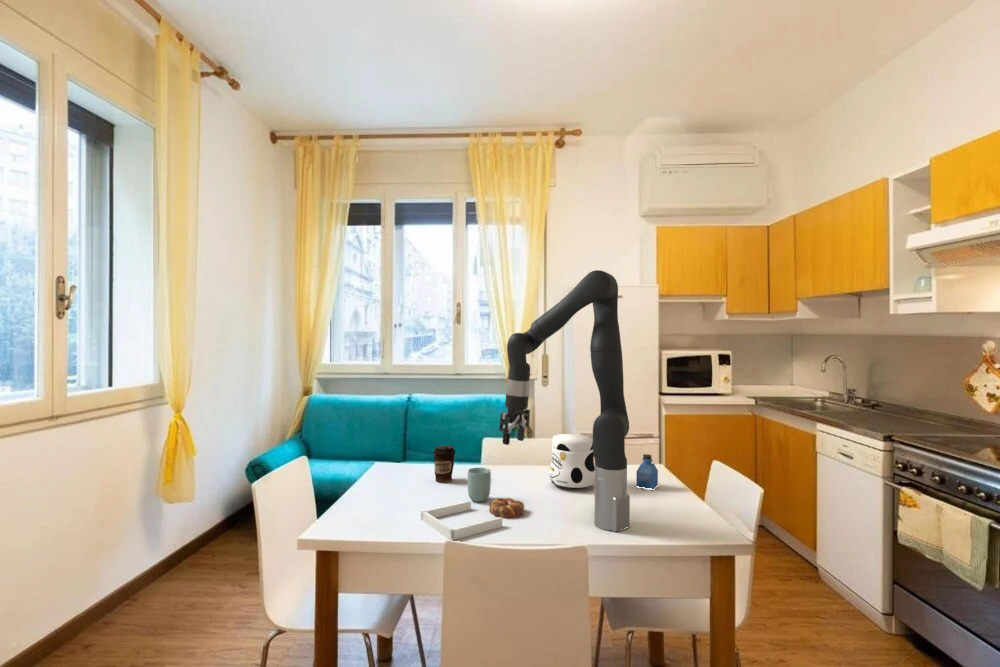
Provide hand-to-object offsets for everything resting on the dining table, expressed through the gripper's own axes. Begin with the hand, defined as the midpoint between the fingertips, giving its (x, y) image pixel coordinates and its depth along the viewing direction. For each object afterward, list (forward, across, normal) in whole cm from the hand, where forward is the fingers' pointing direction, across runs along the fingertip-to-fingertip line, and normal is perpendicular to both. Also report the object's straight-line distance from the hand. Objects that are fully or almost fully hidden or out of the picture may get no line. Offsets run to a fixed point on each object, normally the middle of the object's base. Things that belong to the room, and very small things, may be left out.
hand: (513, 442), depth 154 cm
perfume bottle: (+18, +47, -31) cm, 59 cm away
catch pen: (+21, -21, +2) cm, 30 cm away
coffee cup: (+24, +7, +34) cm, 42 cm away
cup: (+22, -3, +10) cm, 24 cm away
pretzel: (+21, -6, -4) cm, 22 cm away
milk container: (+20, +31, -8) cm, 38 cm away
